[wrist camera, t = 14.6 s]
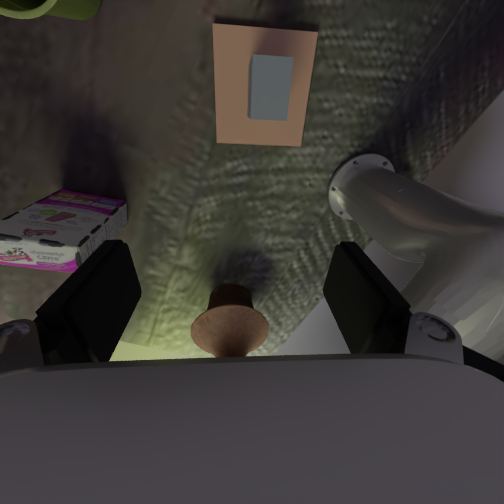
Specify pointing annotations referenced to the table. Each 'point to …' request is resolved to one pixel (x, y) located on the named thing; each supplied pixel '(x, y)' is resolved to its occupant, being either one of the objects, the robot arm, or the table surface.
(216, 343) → the brown vase
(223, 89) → the tile
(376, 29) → the table surface
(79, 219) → the candy bar box
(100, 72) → the table surface
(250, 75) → the block
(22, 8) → the plant pot
